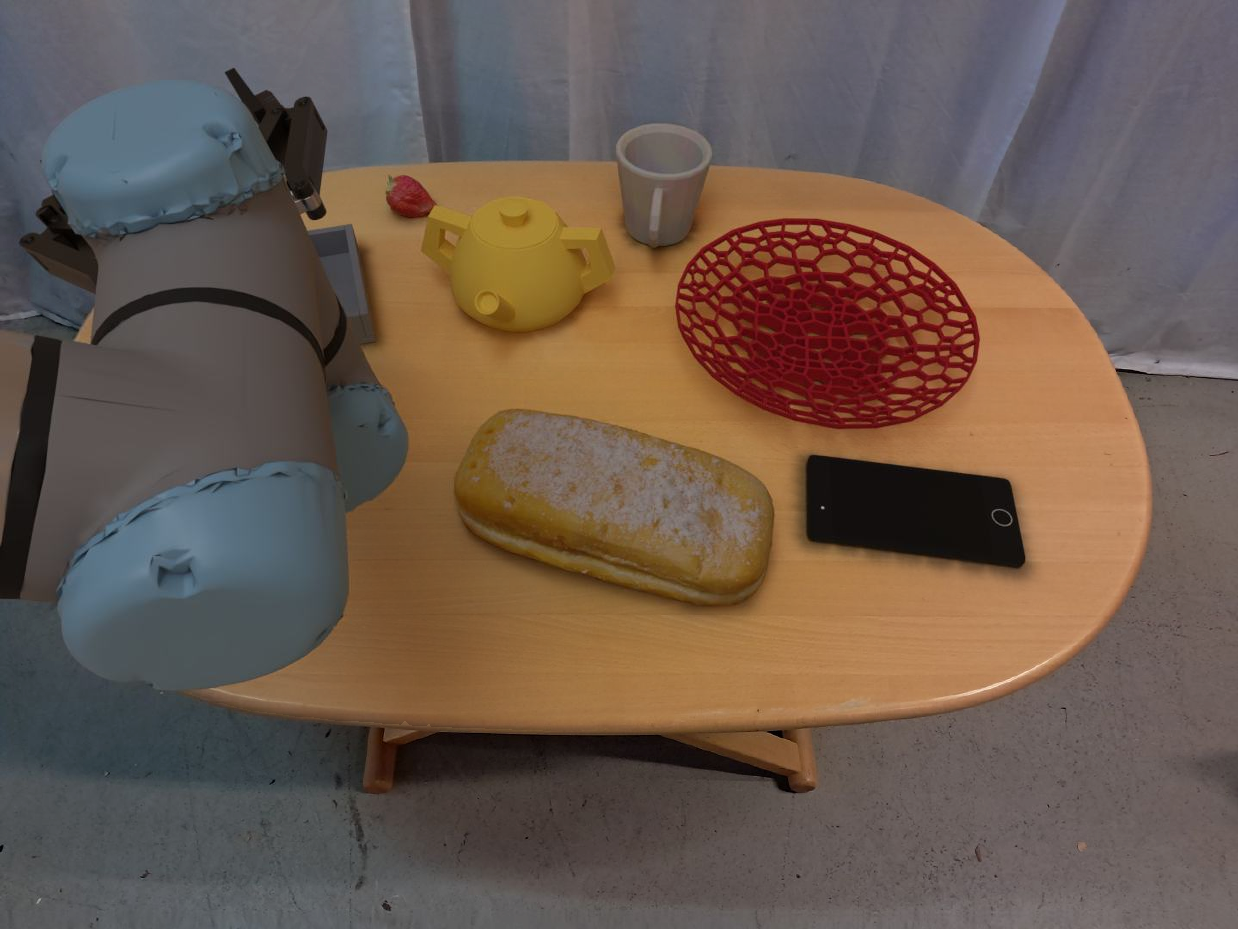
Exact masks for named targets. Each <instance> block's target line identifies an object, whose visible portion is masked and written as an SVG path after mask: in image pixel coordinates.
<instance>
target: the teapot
mask: <svg viewBox="0 0 1238 929" xmlns="http://www.w3.org/2000/svg"><path fill="white" fill-rule="evenodd" d="M446 232H448V233H451V234H453V235H455V236H458V240H457V242H456V243H455V245H454V244H453V243H451V241H448V240H447V239H446ZM583 249H586V253H587V256H588V260H589V262H588V263H586V259H585V255H584V252H583ZM420 252H422V253H423V254H424V255H425V256H426V257H427V258H429V259H430V260H431V261H432V262H433V263H435V264H436V265H437V266H438V267H439V268H441V269H442V270H443V271H445V272H446V274H448V275H449V282H450V289H451V294H452V296H453V298H454V300H455V302H456V303H457V305H458V306H459V308H460V309H461V310H462V311H463V312H464V313H465V314H467V315H468V316H469V317H471V318H472V319H473V320H475V321H477V322H479V323H481V324H483V325H485V326H487V327H490V328H493V329H496V330H499V331H504V332H510V333H511V332H512V333H524V332H526V333H527V332H535V331H539V330H543V329H545V328H548V327H551V326H552V325H554V324H556V323H558V322H560V321H561V320H563V319H564V318H566V317H567V316H568V315H569V314H571V312H573V311H574V310H575V309H576V308H577V307H578V306H579V304H580V303H581V301H582V300H583V298H584V295H585V294H586V293H589V292H590V291H592V290H594V289H595V288H597V287H599V286H600V285H603V284H604V283H606V282H608V281H610V280H611V279H612V278H613V274H614V271H615V269H616V264H615V262H614V258H613V256H612V253H611V250H610V248H609V245H608V242H607V239H606V236H605V234H604V231H603V228H602V227H580V226H579V227H576V226H575V227H571V226H570V227H569V226H568V225H567V223H566V222H565V221H564V220H563V218H562V217H561V216H560V215H559V214H558V213H557V212H556V211H555V209H553V208H552V207H551V206H549V205H548V204H546V203H545V202H542V201H540V200H539V199H538V200H537V199H535V198H530V197H526V196H506V197H501V198H496V199H494V200H491V201H489V202H487V203H485V204H484V205H482V206H480V207H479V208H478V209H477V210H476V211H475V212H474V214H473V215H472V216H470V215H467V214H464V213H461V212H458V211H455V210H452V209H449V208H447V207H443V206H440V205H438V204H437V205H435V206H434V207H433V209H432V211H431V212H430V213H428V215H427V219H426V224H425V229H424V234H423V238H422V244H421V248H420Z"/></svg>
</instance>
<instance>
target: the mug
mask: <svg viewBox="0 0 1238 929" xmlns="http://www.w3.org/2000/svg"><path fill="white" fill-rule="evenodd" d="M713 156H714V155H713V150H712V145H711V144H710V142H709V141H708V140H707V138H705V136H703V135H702V134H700V133H698V132H697V131H695V130H694V129H691V128H688V127H686V126H683V125H678V124H674V123H673V124H672V123H656V122H655V123H654V122H653V123H648V124H642V125H638V126H636V127H633V128H631V129H628V130H627V131H626V132H625V133H623V134H622V135H621V136H620V137H619V139H618V140H617V143H616V146H615V157H616V165H617V173H618V181H619V187H620V195H621V203H622V211H623V218H624V225H625V229H626V231H627V232H628V234H629V236H630V237H632V238H633V239H634V240H635V241H638V242H639V243H641V244H644V245H648V246H649V247H650V248H652V249H655V248H657V247H667V246H673V245H676V244H677V243H680V242H682V241H683V240H685V238H686V237H687V236H688V235H689V233H690V231H691V229H692V225H693V222H694V219H695V215H696V213H697V208H698V206H699V203H700V199H701V195H702V193H703V189H704V185H705V183H706V179H707V177H708V173H709V170H710V167H711V163H712V160H713Z"/></svg>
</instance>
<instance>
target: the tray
mask: <svg viewBox="0 0 1238 929" xmlns="http://www.w3.org/2000/svg"><path fill="white" fill-rule="evenodd" d="M307 231H308V233H309V236H310V238H311V240H312V243H313V245H314V247H315V249H316V252H317V254H318V256H319V258H320V261H321V263H322V265H323V268H324V270H325V272H326V274H327V277H328V279H329V281H330V284H331V286H332V288H333V290H334V292H335V294H336V295H337V297H338V299H339V301H340V304H341V306H342V307H343V308H344V310H345V313H346V315H347V317H348V319H349V321H350V324H351V326H352V328H353V330H354V332H355V335H356V337H357V339H358V341H359V343H360V345H364V344H368V343H374V342H377V337H376V330H375V326H374V321H373V316H372V309H371V306H370V304H371V303H370V299H369V294H368V289H367V283H366V279H365V273H364V268H363V261H362V257H361V250H360V248H359V243H358V241H357V237H356V233H355V230H354V226H353V224H352V223H348V224H347V223H346V224H341V225H335V226H334V225H333V226H328V227H323V228H316V229H309V230H307Z"/></svg>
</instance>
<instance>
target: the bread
mask: <svg viewBox="0 0 1238 929" xmlns="http://www.w3.org/2000/svg"><path fill="white" fill-rule="evenodd" d="M453 482H454V483H453V495H454V502H455V505H456V508H457V511H458V513H459V515H460V517H461V520H462V521H463V522H464V524H465V525H466V526H467V528H469V529H470V531H472V533H474V534H475V535H476V536H477V537H479V538H481V539H482V540H483V541H485V542H487V543H489V544H491V545H494V547H495V546H496V547H497V548H500V549H502V550H505V551H506V552H510V553H513V554H517V555H520V556H523V557H526V558H529V559H534V560H536V561H538V562H539V563H542V564H546V565H549V566H550V567H553V568H554V567H555V568H558V569H562V570H565V571H568V572H573V573H575V574H580V575H584V576H587V577H592V578H595V579H598V580H600V581H602V582H605V583H609V584H613V585H616V586H620V587H623V588H626V589H629V590H637V591H640V592H642V593H646V594H647V593H648V594H651V595H655V596H659V597H663V598H669V599H673V600H675V601H684V602H687V603H690V604H693V605H699V606H705V607H710V608H712V607H713V608H715V607H716V608H717V607H731V606H735V605H739V604H740V603H742V602H744V601H745V600H746V599H748V598H750V597H751V596H753V595H754V594H755V593H756V592H757V591H758V590H759V588H760V587H761V586H762V584H763V582H764V579H765V577H766V573H767V572H768V564H769V557H770V552H771V549H772V545H773V536H774V523H775V517H776V516H775V507H774V504H773V503H774V502H773V498H772V496H771V494H770V492H769V490H768V489H767V487H766V485H765V483H763V481H761V480H760V479H759V478H758V477H757V476H756V475H754V474H753V473H751V472H749V471H748V470H746V469H745V468H743V467H741V466H739V465H737V464H735V463H733V462H731V461H730V460H726V459H725V458H724V457H721V456H718V455H716V454H712V453H710V452H708V451H705V450H701V449H699V448H696V447H692V446H687V445H683V444H680V443H677V442H674V441H670V440H666V439H663V438H660V437H656V436H653V435H650V434H648V433H644V432H641V431H638V430H636V429H632V428H631V427H630V428H628V427H624V426H620V425H618V424H612V423H609V422H603V421H598V420H595V419H592V418H587V417H586V418H585V417H581V416H577V415H571V414H570V415H569V414H561V413H553V412H548V411H541V410H535V409H524V408H508V409H504V410H499V411H497V412H496V413H494V414H493V415H491V416H490V417H489V418H488V419H487V420H486V421H485V422H483V423H482V424H481V425H480V426H479V427H478V429H477V431H476V432H475V434H474V435H473V437H472V438H471V439H470V442H469V445H468V447H467V449H466V451H465V454H464V456H463V457H462V460H461V462H460V463H459V465H458V468H457V470H456V472H455V474H454V481H453Z"/></svg>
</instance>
